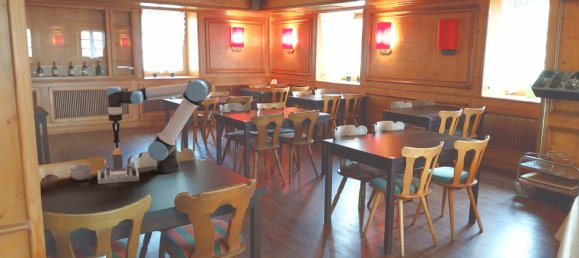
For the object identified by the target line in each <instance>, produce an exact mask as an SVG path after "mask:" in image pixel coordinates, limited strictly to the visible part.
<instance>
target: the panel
mask: <svg viewBox="0 0 579 258" xmlns="http://www.w3.org/2000/svg"><path fill="white" fill-rule="evenodd" d="M110 167H111V166H110V165H105V169H104V174H105V178H101V169H99V170H97V184H98V185H103V184H114V183H115V184H116V183H117V184H118V183H129V182H139V181H140V174H139V170H138V167H135V169H136V175H132V170H131V163H128V164H125V169H126V171H115V172H111V168H110Z"/></svg>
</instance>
